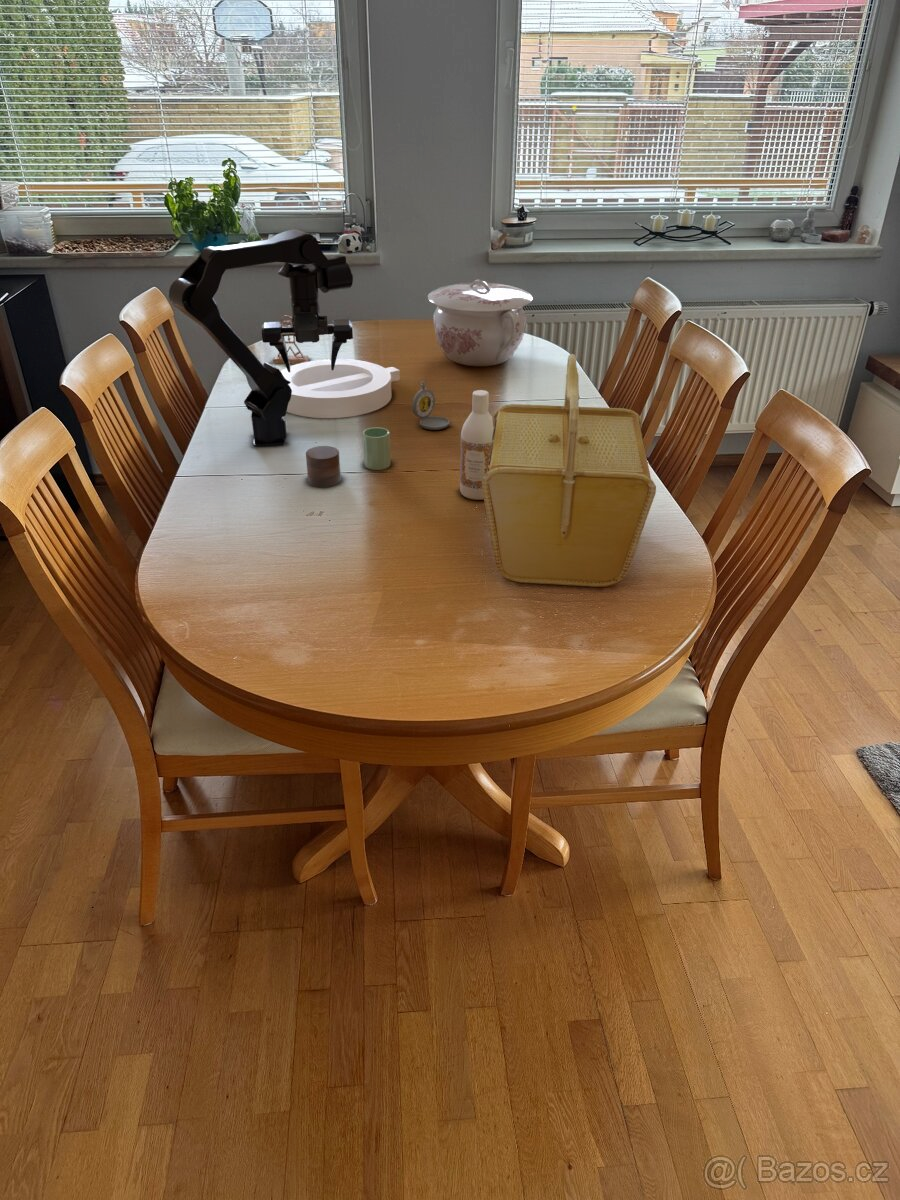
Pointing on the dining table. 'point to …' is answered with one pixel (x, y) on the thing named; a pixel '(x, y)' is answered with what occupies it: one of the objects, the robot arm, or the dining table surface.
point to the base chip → (324, 481)
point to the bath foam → (475, 446)
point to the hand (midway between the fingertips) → (311, 370)
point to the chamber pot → (479, 321)
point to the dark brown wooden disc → (322, 457)
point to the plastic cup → (376, 448)
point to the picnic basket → (566, 491)
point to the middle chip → (323, 471)
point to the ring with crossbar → (338, 388)
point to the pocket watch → (427, 409)
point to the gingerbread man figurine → (295, 357)
